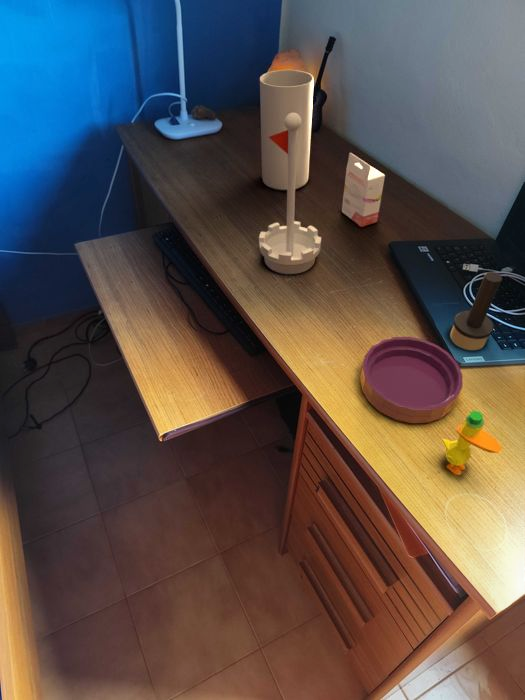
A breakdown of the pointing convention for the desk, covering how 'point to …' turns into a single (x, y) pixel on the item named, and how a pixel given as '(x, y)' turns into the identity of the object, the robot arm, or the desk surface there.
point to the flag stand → (289, 218)
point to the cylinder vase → (276, 103)
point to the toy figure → (469, 442)
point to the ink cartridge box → (362, 191)
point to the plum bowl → (410, 379)
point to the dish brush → (476, 316)
